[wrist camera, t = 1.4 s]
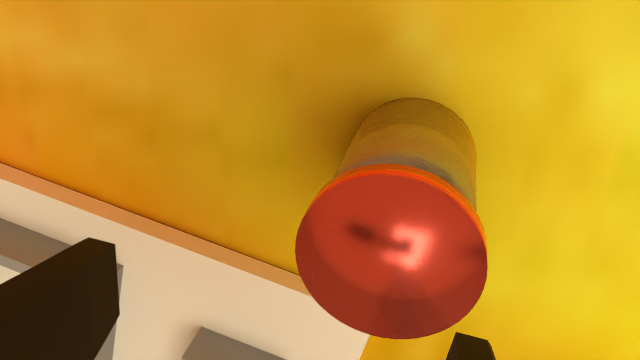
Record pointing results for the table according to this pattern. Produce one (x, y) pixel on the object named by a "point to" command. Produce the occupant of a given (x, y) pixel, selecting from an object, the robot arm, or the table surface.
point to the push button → (398, 226)
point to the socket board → (171, 283)
